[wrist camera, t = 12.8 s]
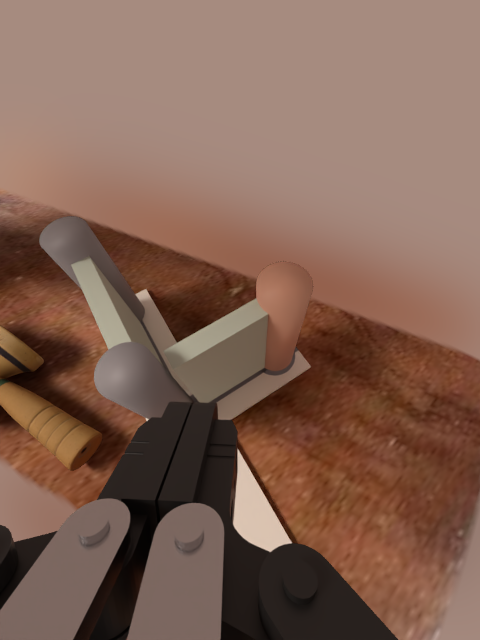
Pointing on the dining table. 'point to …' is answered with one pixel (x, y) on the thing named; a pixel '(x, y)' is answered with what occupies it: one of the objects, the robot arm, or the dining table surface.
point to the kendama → (42, 408)
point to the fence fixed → (113, 321)
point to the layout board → (250, 502)
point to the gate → (246, 335)
